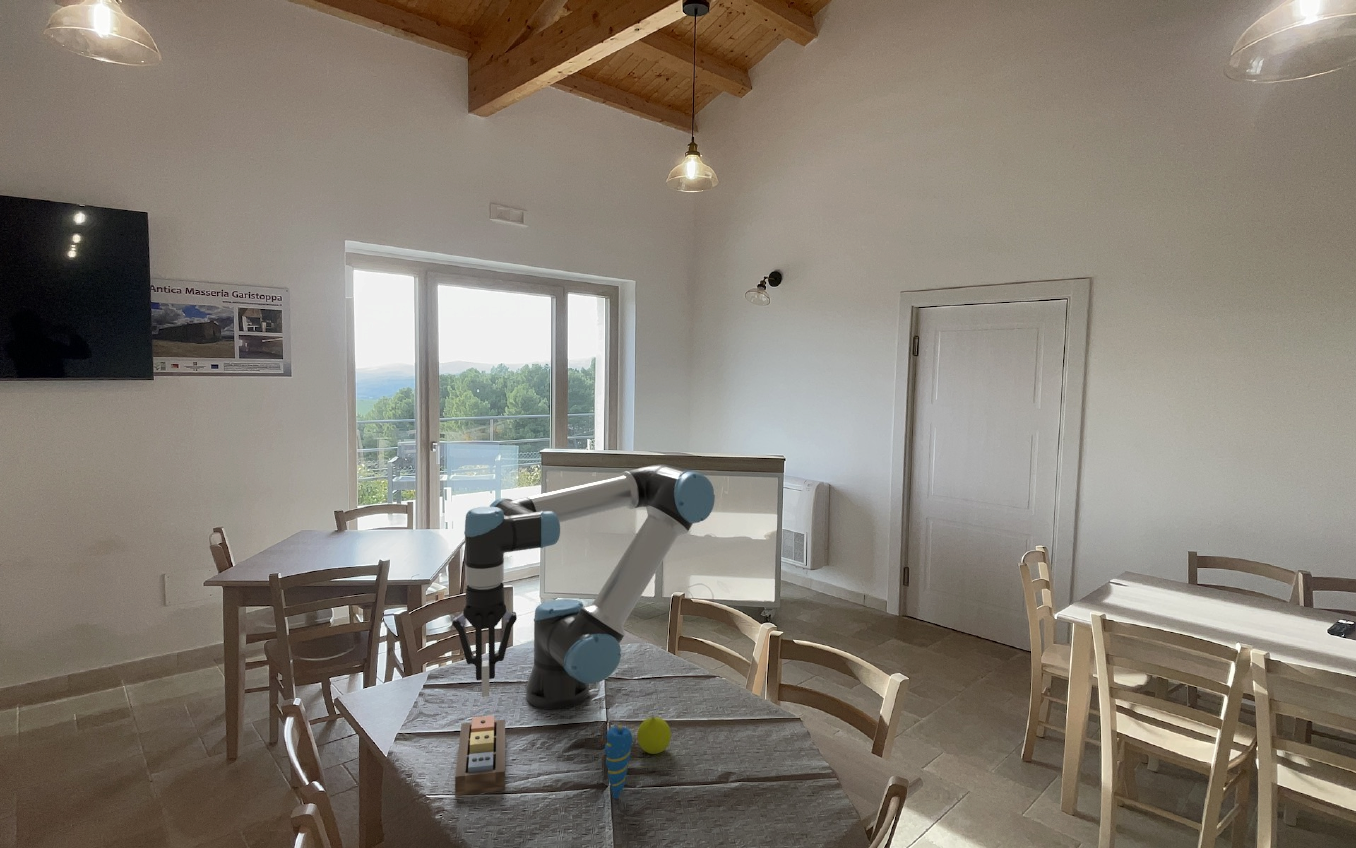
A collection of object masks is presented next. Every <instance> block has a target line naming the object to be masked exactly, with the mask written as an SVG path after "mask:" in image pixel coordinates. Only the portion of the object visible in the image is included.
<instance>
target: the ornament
mask: <svg viewBox="0 0 1356 848" xmlns="http://www.w3.org/2000/svg"><path fill="white" fill-rule="evenodd" d="M605 737H606V742H607V743H605V746H604V753H605V755H606V760H605V764H606V767H607V779H608V782H609V785H610V787H611V788H610V789H611V791H612V795H613V798H614V799H615V800H618V799H619V797H620V795H621V793H622V791H623V789H624V787H625V785H626V776H627V773H628V769H629V765H628V764H629V761H630V759H631V753H632V752H631V749H632V746H633V740H634V739H633V734H632V732H631V731H630V729H629V728H628V727H625V726H623V724H620V723H618V725H617V726H615V727H611V728H609V729H608V731H607V733H606V736H605Z"/></svg>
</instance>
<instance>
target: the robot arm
mask: <svg viewBox="0 0 1356 848" xmlns="http://www.w3.org/2000/svg"><path fill="white" fill-rule="evenodd" d="M714 492H715V490H714V486H713V484H712V482H711V481H710V479H709V478H708V477H707V476H706V475H704V474H702V473H700V472H697V471H696V470H693V469H686V468H682V467H678V466H674V465H671V464H668V463H667V464H666V463H664V464H662V463H661V464H659V463H658V464H652V465H647V466H643V467H638V468H635V469H631V470H625V471H622V472H621V473H620V474H619V476H618V477H612V478H608V479H604V480H598V481H595V482H590V483H586V484H582V485H576V486H572V487H567V488H564V489H559V490H554V491H550V492H545V493H541V494H535V495H533V496H528V497H522V498H521V497H520V498H518V499H510V498H506V497H505V498H498V499H496V500H494V501H492V503H491V504H489V506H479V507H474V508H472V509H470V510H468V511H467V513H466V514H465V521H464V522H465V523H464V534H463V535H464V546H465V547H464V548H465V551H464V553H465V567H464V568H465V569H464V570H465V574H464V575H465V584H466V585H465V606H464V608H463V612H461V614H459V615H458V616H457V615H456V616H454V617H453V618H452V626H453V627H454V628H455V630H456V631H457V633H458V636H459V641H460V643H461V648H462V650H463V651H462V652H463V654H464V657H465V661H466V664H468V665H474V666H475V680H476V681H481V697H482V698H484V697H485V698H486V697H490V680H492V679H493V680H494V679H495V677H496V664H497V663H498V662H502V661H504V659H505V655H506V651H507V647H508V644H509V639H510V635H511V631H512V627H513V626H514V624H515V623H516V621H517V618H518V617H517V613H516V611H510V610H508V609H507V606H506V604H505V596H504V595H505V594H504V593H505V592H504V591H505V590H504V588H505V586H504V583H503V582H504V572H505V570H504V569H505V567H504V565H505V563H504V562H505V560H504V557H505V556H504V555H505V553H511V552H518V551H519V552H520V551H526V550H532V549H543V548H546V547H549V546H550V547H551V546H554V545H556V544H557V543H558V541H559V540H560V537H561V524H560V523H564V522H568V521H571V520H576V519H580V518H583V517H584V518H585V517H588V516H591V515H595V514H600V513H604V512H609V511H612V510H616V509H621V508H625V507H626V508H628V509H629V510H633V509H636V508H637V509H638V508H646V513H647V515H646V516H647V517H646V519H645V520H644V521H643V523H642V525H640V528H639V530H638V532H637V533H636V534H635V536H634V538H633V539H632V541H631V542H630V544H629V546H628V547H627V548H626V550H625V552H624V554H623V555H622V556H621V558H620V559H619V561H618V563H617V564H616V566H615V567H614V569H613V570H612V572H611V573H610V575H609V577H608V579H606V581H605V583H604V584H603V586H602V588H601V589H600V591H599V593H598V594H597V596H596V597H595V599H594V601H593V602H592V603H590V604H588V605H585V606H584V603H583V602H582V601H580V600H577V599H572V598H571V599H569V598H568V599H567V598H562V599H553V600H548V601H545V602H542V603H540V604H539V605H537V606H536V607H535V610H534V618H533V621H534V623H533V626H534V627H533V630H534V631H533V633H534V634H533V638H534V639H533V640H534V641H533V666H532V669H531V672H530V674H529V675H530V676H529V678H528V680H527V684H526V686H525V697H526V700H527V702H528V703H529V704H530V705H532V706H534V707H537V708H540V709H544V710H554V711H555V710H556V711H557V710H564V709H570V708H574V707H576V706H579V705H580V704H582V703H584V702H585V701H586V700H587V698H588V697H589V695H590V684H596V683H598V682H602V681H604V680H606V679H607V678H609V677H610V676H611V675H612V674H613V673H614V672H615V670H617V668H618V667H619V664H620V661H621V657H622V654H621V651H622V649H621V645H620V644H621V642H622V641H623V639H624V636H625V627H624V624H625V622H626V621H627V620H628V618H629V616H630V615H631V613H632V611H633V610H634V608H635V606H636V605H637V603H638V601H639V600H640V598H641V596H642V595H643V593H644V592H645V590H646V589H647V587H648V585H649V584H650V582H651V580H652V579H653V577H654V576H655V574H656V573H657V572H658V569H659V567H660V565H661V564H662V562H663V561H664V559H665V557H666V556H667V555H668V553H669V552H670V549H671V547H673V544H674V543H675V541H676V539H678V536H682V535H687V534H688V533H689V530H690V529H691V528H692V526H693V525H694V524H697V523H700V522H703V521H705V520H706V519H708V518H709V516H710V515H711V514H712V512H713V509H714V506H715V502H716V500H715V498H716V497H715V496H716V495H715V494H714ZM503 618H504V622H505V623H504V626H503V630H502V635H501V639H500V641H499V642H500V643H499V647H498V651H497V653H495V652H496V638H495V636H496V635H495V634H496V633H495V631H496V630H495V628H496V627H497V626H498V624H499V623H500V622H501V620H502V619H503ZM466 620H467V622H468V623H469V624H470V625H471V626H472V627H473V628H474V630H475V634H474V635H475V655H473V652H472V648H471V643H470V641H469V636H468V633H467V630H466V626H465V624H466ZM483 629H487V630H488V660H483V637H482V636H483V633H482V632H483V631H482V630H483Z"/></svg>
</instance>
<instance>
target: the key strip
mask: <svg viewBox="0 0 1356 848" xmlns="http://www.w3.org/2000/svg"><path fill="white" fill-rule="evenodd" d="M471 726H472V722H463V723H461V726H460V733H459V734H460V735H459V742H458V750H457V752H458V753H457V760H456V765H455V766H456V767H455V775H454V786H455V787H454V790H455V791H454V796H455V797H458V796H465V795H467V796H469V795H474V794H475V795H477V794H485V793H492V792H494V793H495V792H501V791H506V719H498V720H496V719H494V751H493V770H491V771H482V772H473V773H468V764H469V754H470V737H471Z"/></svg>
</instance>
